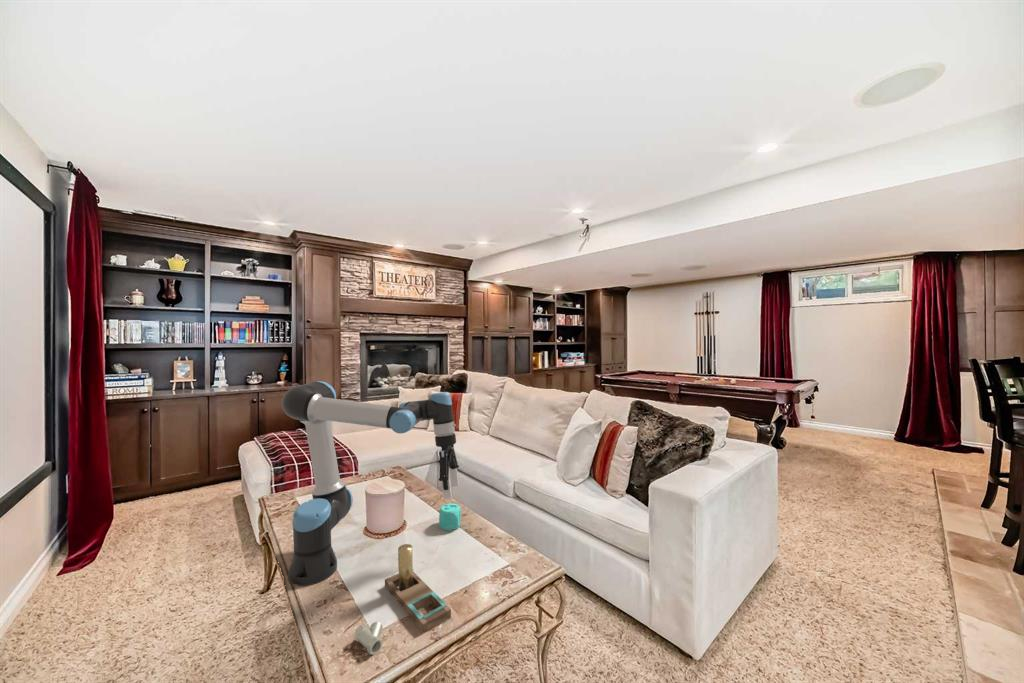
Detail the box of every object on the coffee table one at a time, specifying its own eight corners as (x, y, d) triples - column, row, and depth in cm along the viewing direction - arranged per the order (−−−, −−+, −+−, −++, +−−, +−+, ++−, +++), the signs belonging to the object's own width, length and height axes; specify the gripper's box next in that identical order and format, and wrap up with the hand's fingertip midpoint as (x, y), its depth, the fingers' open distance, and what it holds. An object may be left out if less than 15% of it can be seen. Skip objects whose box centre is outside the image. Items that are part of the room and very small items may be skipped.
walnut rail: (384, 586, 130) (384, 578, 130) (410, 575, 136) (410, 567, 136) (423, 633, 111) (423, 623, 111) (450, 617, 117) (450, 608, 116)
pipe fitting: (376, 629, 113) (354, 642, 108) (377, 615, 113) (354, 628, 108) (392, 644, 108) (370, 658, 103) (393, 629, 108) (371, 643, 103)
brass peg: (396, 589, 129) (395, 547, 128) (409, 583, 132) (408, 542, 131) (402, 596, 126) (401, 553, 125) (415, 590, 129) (414, 548, 128)
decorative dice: (458, 530, 166) (458, 511, 165) (439, 530, 166) (438, 511, 166) (461, 521, 174) (460, 503, 173) (442, 521, 174) (442, 503, 174)
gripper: (447, 439, 135) (455, 503, 133) (460, 427, 159) (467, 480, 158) (426, 442, 135) (433, 505, 134) (442, 429, 160) (448, 482, 159)
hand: (451, 492), depth 146 cm, fingers open, 13 cm apart
